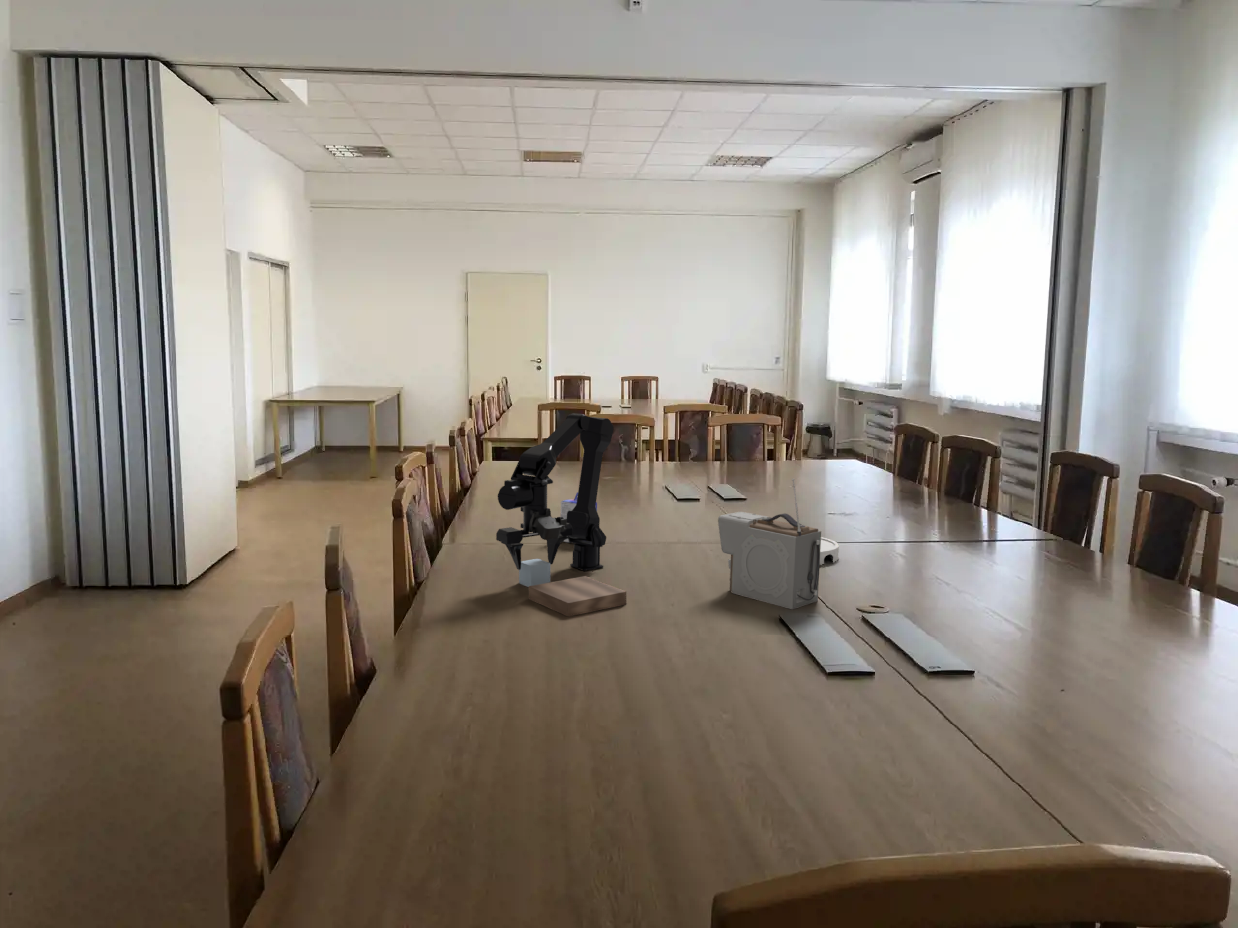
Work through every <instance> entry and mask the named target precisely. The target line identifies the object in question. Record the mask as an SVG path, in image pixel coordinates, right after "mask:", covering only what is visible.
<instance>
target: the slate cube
mask: <svg viewBox="0 0 1238 928" xmlns="http://www.w3.org/2000/svg"><path fill="white" fill-rule="evenodd" d="M550 582H551V564H550V563H549V561H546V560H543V559H541V558H533V559H526V560H521V569H520V570H518V584H520V585H521V586H525V587H527V588H529V586H533V585H538V584H544V583H550Z"/></svg>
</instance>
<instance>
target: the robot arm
mask: <svg viewBox="0 0 1238 928" xmlns="http://www.w3.org/2000/svg"><path fill="white" fill-rule="evenodd" d="M613 433H614V425H613V423H612V421H611V420H610V418H607V417H594V416H588V415H585V414H583V413H570V414H568V415H567V416H566V418H565V420H564V421H563V422H562V423H561V424H560V425H559V426H558V427H557V428H556V429H555V430H554V431H553V432H552V433H551V434H550V435H549V436H548V437H546V439H545V440H544V441H543V442H542V443H540V444H538V445H534V446H531V447H530V448H528V449H527V450H525V451H524V452H523V453H522V454H520V457H519V460H518V462H517V464H516V466H515V468H514V470H513V472H512V475H511V477H510V479H506V480H504V481H503V482H504V484H503V486H501V487H500V489H499V490H498V493H497V500H498V503H499V506H501V508H502V509H504V510H505V511H509V510H514V509H519V508H520V512H522V513H523V519H522V520H523V523H520V529H517V528H515V527H511V526H509V527H503V528H498V529H497V531H496V534H495V535H496V536H495V537H496V538H495V540H496V541H497V542H500V543H501V544H503V545H505V547H506V548H507V550H508V552H509V554H510V557H511V558H512V561H513V563H514V565H515V567H516V569H517V570H518V571H519V570H520V569H521V561H522V548H523V546H524V543H523V542H522V541H523V538H529V537H531V538H532V537H537V536H540V538H541V540H543V541H546V547H547V562H549V563H550V565H553V564H554V562H555V558H556V557H557V553H558V550H559V548H560V546H561V544H562V543H563V541H564V540H565V539H568V540H569V542H568V543H569V544H573V550H572V563H570V564H569V565H570V567H572V568H575V569H578V570H581V571H584V572H585V571H591V570H595V569H601V568H604V565H603V564H601V548H602V547H603V546H605V545H606V542H607V536H606V534H605V533H604V532H603V530H602V529H601V528H600V524H601V523H600V522H601V521H600V520H601V519H600V516H599V513H598V509H597V510H596V508H595V506H596V502H597V497H598V491H599V484H600V476H601V469H602V462H603V456H604V452H605V451H606V450H607V448H608V447H609V445H610V444H611V442H612V438H613ZM578 436H579V441H580V444H581V446H582V448H583V455H582V463H581V469H580V477H579V482H578V483H579V484H578V496H577V504H576V506H575V507H574V508H573V510H572V511H570V510H569V511H568V512H567V519H566V518H565V517H564V516H561V515H560V516H557V517H553V516H552V514H551V513H552V511H551V509H550V508H548V485H553V483H554V480H553V479H552V478H550V476H549V475H550V474H551V472H552V471H553V470H554V468H555V467H556V465H557V458H558V457H559V456H560V455H561V453H562V452H564V450H565V449H566V448H567V447H568V446H569V445H570V444H571V443H572V442H573V441H574V440H575V439H576V438H577V437H578ZM567 536H568V537H567Z"/></svg>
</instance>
